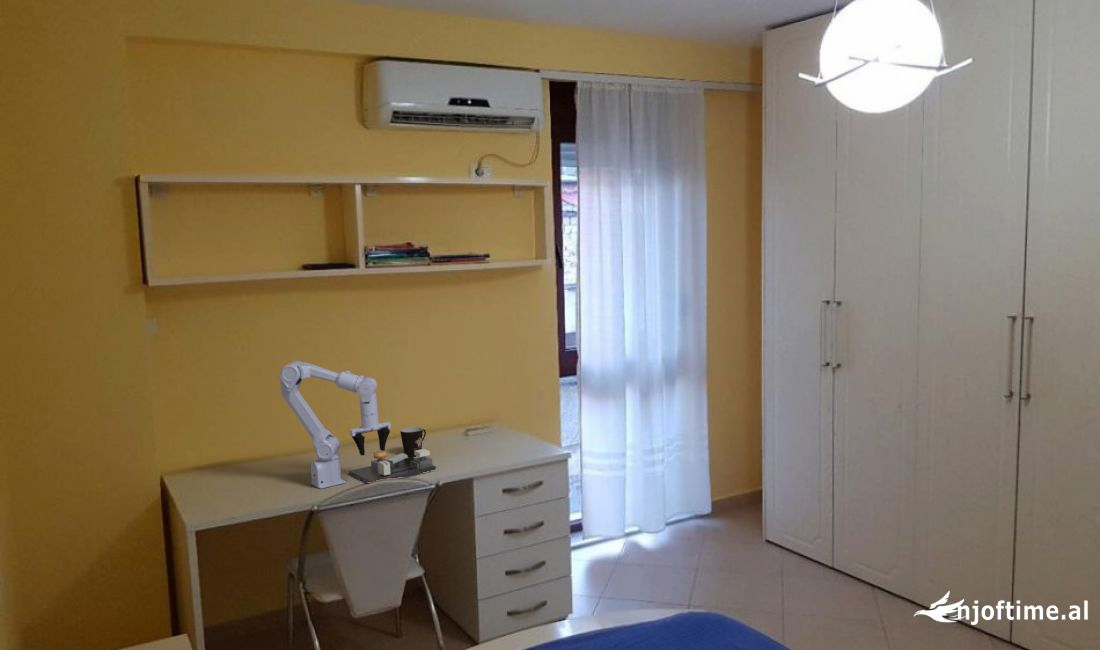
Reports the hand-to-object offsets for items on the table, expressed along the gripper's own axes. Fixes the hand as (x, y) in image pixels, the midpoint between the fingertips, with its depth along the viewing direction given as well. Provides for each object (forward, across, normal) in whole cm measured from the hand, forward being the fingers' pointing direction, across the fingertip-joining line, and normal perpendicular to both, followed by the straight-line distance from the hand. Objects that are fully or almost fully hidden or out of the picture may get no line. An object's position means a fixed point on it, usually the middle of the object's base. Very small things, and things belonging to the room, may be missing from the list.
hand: (372, 452), depth 284 cm
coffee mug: (+10, +29, +20) cm, 37 cm away
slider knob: (+8, +4, 0) cm, 9 cm away
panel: (+10, +10, +5) cm, 15 cm away
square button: (+7, +19, 0) cm, 20 cm away
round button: (+7, +7, +9) cm, 13 cm away
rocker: (+7, +14, +9) cm, 18 cm away
